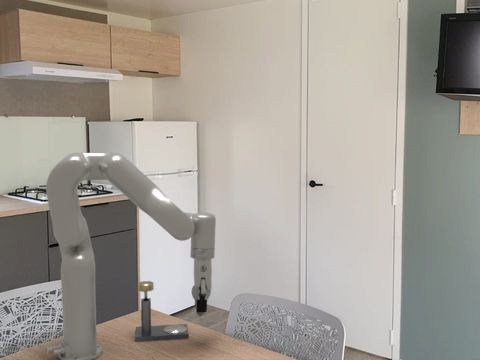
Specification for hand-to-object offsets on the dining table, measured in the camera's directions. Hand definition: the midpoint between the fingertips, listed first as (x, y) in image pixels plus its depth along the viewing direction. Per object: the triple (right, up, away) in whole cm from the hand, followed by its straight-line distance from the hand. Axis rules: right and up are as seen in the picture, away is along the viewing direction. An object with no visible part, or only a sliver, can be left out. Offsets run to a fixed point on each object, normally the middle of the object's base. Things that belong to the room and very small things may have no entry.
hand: (200, 308), depth 168 cm
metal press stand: (-13, -10, +6) cm, 18 cm away
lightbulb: (0, -3, 0) cm, 3 cm away
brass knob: (-18, +1, +5) cm, 19 cm away
